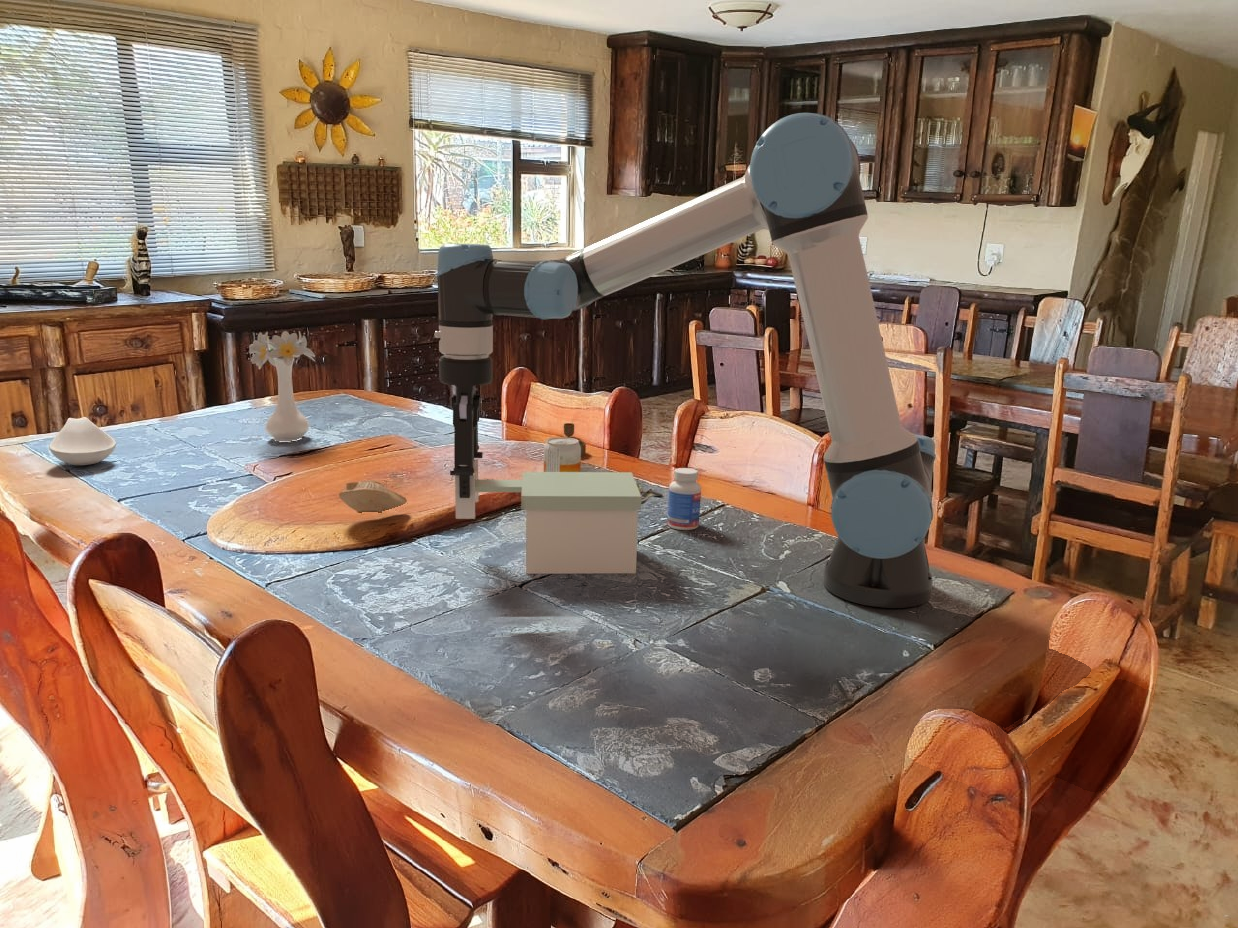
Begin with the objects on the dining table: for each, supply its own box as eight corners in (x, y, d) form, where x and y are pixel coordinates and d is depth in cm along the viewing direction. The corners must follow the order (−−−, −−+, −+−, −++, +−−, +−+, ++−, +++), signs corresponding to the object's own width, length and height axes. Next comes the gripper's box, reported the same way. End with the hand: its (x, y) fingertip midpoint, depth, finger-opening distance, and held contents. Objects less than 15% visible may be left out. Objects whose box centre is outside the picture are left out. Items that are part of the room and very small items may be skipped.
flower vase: (285, 430, 220) (279, 325, 213) (334, 442, 209) (329, 332, 203) (235, 439, 209) (227, 328, 203) (284, 452, 199) (277, 336, 193)
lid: (631, 484, 144) (632, 460, 143) (640, 509, 131) (641, 482, 130) (462, 483, 142) (462, 458, 141) (455, 509, 129) (454, 481, 128)
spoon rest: (121, 465, 185) (117, 430, 183) (53, 472, 179) (49, 436, 177) (107, 442, 204) (104, 410, 202) (45, 447, 198) (41, 414, 196)
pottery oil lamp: (421, 515, 158) (420, 476, 156) (359, 530, 150) (358, 488, 148) (393, 504, 164) (392, 466, 162) (332, 517, 156) (330, 477, 154)
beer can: (585, 525, 155) (587, 439, 152) (568, 536, 150) (570, 446, 146) (554, 520, 158) (555, 435, 154) (536, 530, 152) (537, 441, 149)
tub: (627, 545, 146) (630, 479, 143) (635, 573, 134) (638, 501, 132) (526, 546, 144) (527, 478, 142) (525, 573, 133) (526, 500, 130)
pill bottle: (697, 532, 154) (700, 476, 151) (665, 529, 155) (667, 473, 152) (700, 522, 159) (703, 468, 157) (670, 519, 160) (672, 465, 158)
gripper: (445, 346, 140) (448, 490, 145) (431, 365, 120) (434, 531, 126) (495, 347, 141) (495, 490, 146) (489, 366, 121) (489, 531, 126)
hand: (467, 509), depth 136 cm, fingers closed on lid, 8 cm apart
